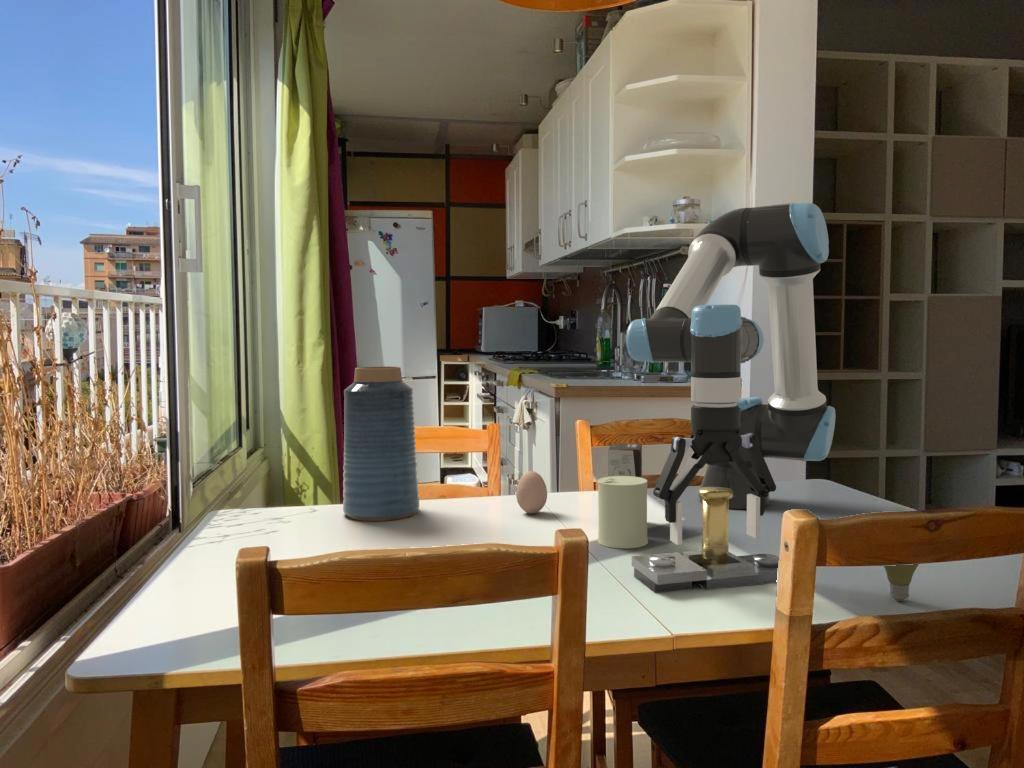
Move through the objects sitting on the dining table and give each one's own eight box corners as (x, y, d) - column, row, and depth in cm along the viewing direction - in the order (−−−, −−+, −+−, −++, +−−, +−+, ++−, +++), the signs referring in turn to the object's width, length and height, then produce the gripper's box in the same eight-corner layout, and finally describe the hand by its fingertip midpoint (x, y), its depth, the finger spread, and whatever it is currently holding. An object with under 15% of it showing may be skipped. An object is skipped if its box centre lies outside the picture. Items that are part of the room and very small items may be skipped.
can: (588, 539, 153) (588, 475, 152) (631, 533, 156) (630, 471, 156) (613, 551, 144) (613, 484, 144) (657, 545, 148) (657, 479, 147)
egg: (531, 518, 170) (530, 475, 169) (510, 513, 174) (509, 471, 174) (553, 513, 174) (553, 471, 173) (532, 508, 179) (532, 467, 178)
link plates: (765, 562, 136) (766, 538, 136) (800, 580, 127) (801, 554, 126) (631, 574, 131) (631, 550, 130) (657, 594, 121) (657, 568, 121)
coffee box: (641, 532, 157) (640, 449, 156) (607, 531, 158) (607, 448, 157) (643, 521, 166) (642, 442, 165) (611, 520, 167) (610, 442, 166)
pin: (722, 571, 132) (722, 485, 131) (738, 581, 127) (739, 492, 126) (692, 574, 130) (692, 487, 129) (707, 584, 125) (708, 494, 124)
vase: (327, 518, 172) (323, 369, 170) (369, 502, 187) (365, 365, 185) (395, 524, 166) (391, 370, 164) (432, 507, 181) (429, 365, 179)
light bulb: (870, 594, 119) (871, 527, 119) (906, 593, 120) (907, 526, 119) (890, 608, 114) (892, 537, 113) (929, 606, 114) (930, 536, 114)
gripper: (773, 399, 133) (772, 527, 135) (631, 405, 127) (632, 539, 129) (800, 403, 126) (798, 539, 127) (651, 409, 120) (651, 551, 122)
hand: (715, 539), depth 128 cm, fingers open, 13 cm apart
